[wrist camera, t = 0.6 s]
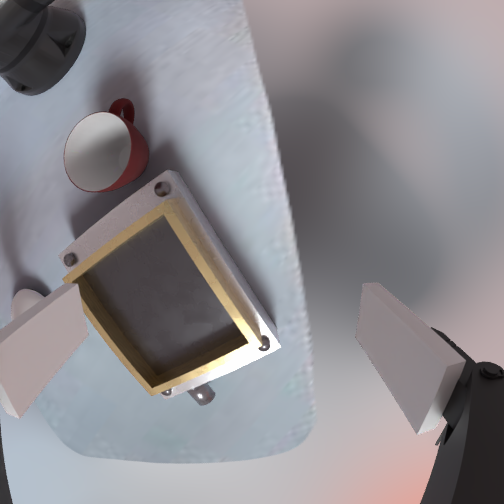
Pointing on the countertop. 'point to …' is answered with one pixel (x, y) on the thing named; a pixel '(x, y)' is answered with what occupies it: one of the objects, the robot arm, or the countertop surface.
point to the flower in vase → (24, 301)
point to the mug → (106, 150)
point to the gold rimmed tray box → (168, 292)
